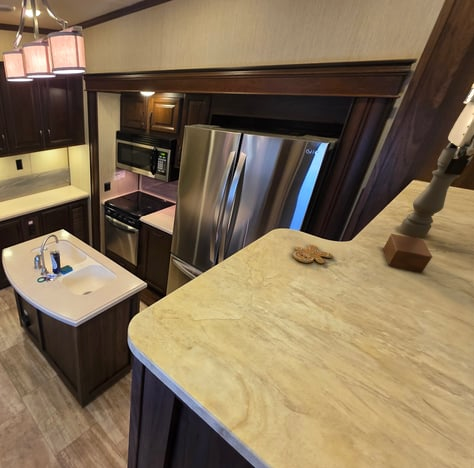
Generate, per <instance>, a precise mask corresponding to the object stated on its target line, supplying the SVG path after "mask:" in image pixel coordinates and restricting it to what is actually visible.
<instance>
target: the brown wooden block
mask: <svg viewBox="0 0 474 468" xmlns="http://www.w3.org/2000/svg"><path fill="white" fill-rule="evenodd" d="M383 252H384V255H385V258H386V262H387V265H388V267H389V266H390V267H395V268H399V269H403V270H406V271H413V272H416V273H420V274H421V273H423V272H424V270H425V269H426V268H427V266H428V264H429V263H430V261H431V260H432V259H433V255H432V253H431V251H430V250H429V248H428V246H427V244H426V242H425V239H423V238H418V237H412V236H408V235H401V234H396V233H395V234H394V233H391V234H390V235H389V237H388V239H387V240H386V243H385V245H384V246H383Z"/></svg>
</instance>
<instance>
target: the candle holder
mask: <svg viewBox="0 0 474 468" xmlns="http://www.w3.org/2000/svg"><path fill="white" fill-rule="evenodd" d="M464 150H465V149H462V151H461V153H462V152H463V151H464ZM456 151H457V148H446V147H445V148H443V150H442V151H441V153H440V155H439V157H438V159H437V163H436V165H437V164H438V166H437V169H435V170H432V172H431V173H432V179H431V180H430V182H429V184H428V186H427V187H426V188H425V189H424V190H423V191H422V192H421V193H420V194H419V195H418V196H417V197H416V198H415V199H414V201H413V202H412V209H413V210H412V212H411V213H409V214H407V215H406V218H404V219H403V220H402V222H401V224H400V226H399V227H398V232H399V233H401V234H403V235H404V236H407V237H412V238H418V239H423V238H425V237H427V235H428V233H429V232H430V230H431V229H432V224H433V223H434V219H433V216H435V214H437V213H440V212H441V211H442V210H443V209H444V206H445V202H446V198H447V193H448V190H449V188H450V187H451V184H452V183H453V181H454V180H456V179H458V178H460V176H461V174H460V175H454V174H445V173H444V170H445V168H446V166H447V165H448V163H449V161H450V159H451V158H454V156H455V153H456ZM473 157H474V155H473V156H472V158H471V159H470V160H469V162H468V164H467V165H466V166H468V165H469V164H470V162H471V161H472V159H473Z"/></svg>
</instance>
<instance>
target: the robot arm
mask: <svg viewBox="0 0 474 468" xmlns="http://www.w3.org/2000/svg"><path fill="white" fill-rule="evenodd" d="M463 104H465V107H464V108H463V109H462V111H461V112H460V115H459V116H458V118H457V119H456V121H455V123H454V125H453V126H452V128H451V130H450V132H449V134H448V137H447V139H448V142H447V145H446V147H445V148H457V151H456V153H455V156H454V158H451V159H450V161H449V163H448V165H447V166H446V168H445V170H444V173H445V174H454V175H460V176H461V175H462V173H463V172H464V170H465V168H466V167H467V166H468V165H469V164H468V162H469V160H470V159H471V158H472V159H473V157H474V156H473V155H474V83H473V84H472V86H471V88H470V89H469V92H468V94H467V95H466V97H465V99H464V100H463ZM462 149H465V150H464V151H463V152H462V153H461V151H462ZM472 156H473V157H472ZM472 159H471V160H472ZM469 163H470V162H469ZM467 164H468V165H467ZM436 166H437V167H438V164H437V163H436Z"/></svg>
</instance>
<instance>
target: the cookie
mask: <svg viewBox="0 0 474 468" xmlns="http://www.w3.org/2000/svg"><path fill="white" fill-rule="evenodd" d="M292 257H293V258H294V259H295V260H297V261H299V262H300V263H304V264H311V263H313V262H314V261H315V262H316V263H318V264H325V263H326V261H325V259H324V258H328V259H332V258H333V257H334V256H333V255H332V254H331V253H329V252H328V251H327V252H326V251H322V250H320V249H319V248H318V247H317V246H316V245H313V244H308V249H307V248H305V247H300V246H297V247H296V248H295V252H294V253H292Z"/></svg>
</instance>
